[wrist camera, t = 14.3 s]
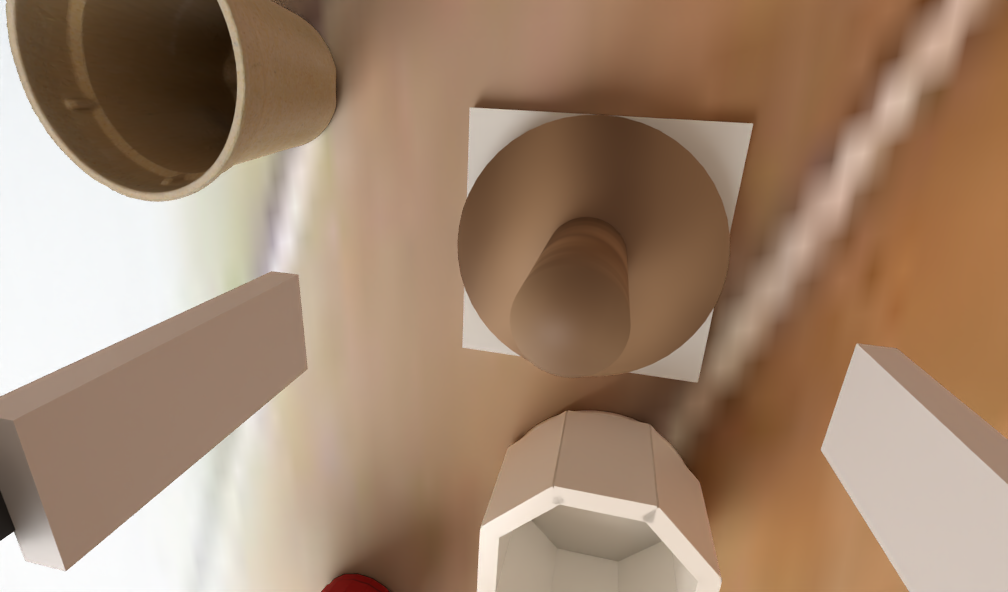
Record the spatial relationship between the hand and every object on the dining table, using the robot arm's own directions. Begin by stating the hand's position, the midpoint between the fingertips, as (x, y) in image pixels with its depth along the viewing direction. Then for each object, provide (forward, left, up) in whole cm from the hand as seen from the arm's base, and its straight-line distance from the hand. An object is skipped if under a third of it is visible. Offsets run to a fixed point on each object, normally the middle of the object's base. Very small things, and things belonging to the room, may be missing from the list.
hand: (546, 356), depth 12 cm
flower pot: (-16, +6, -13) cm, 21 cm away
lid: (0, 0, -12) cm, 12 cm away
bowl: (+2, -14, -13) cm, 19 cm away
